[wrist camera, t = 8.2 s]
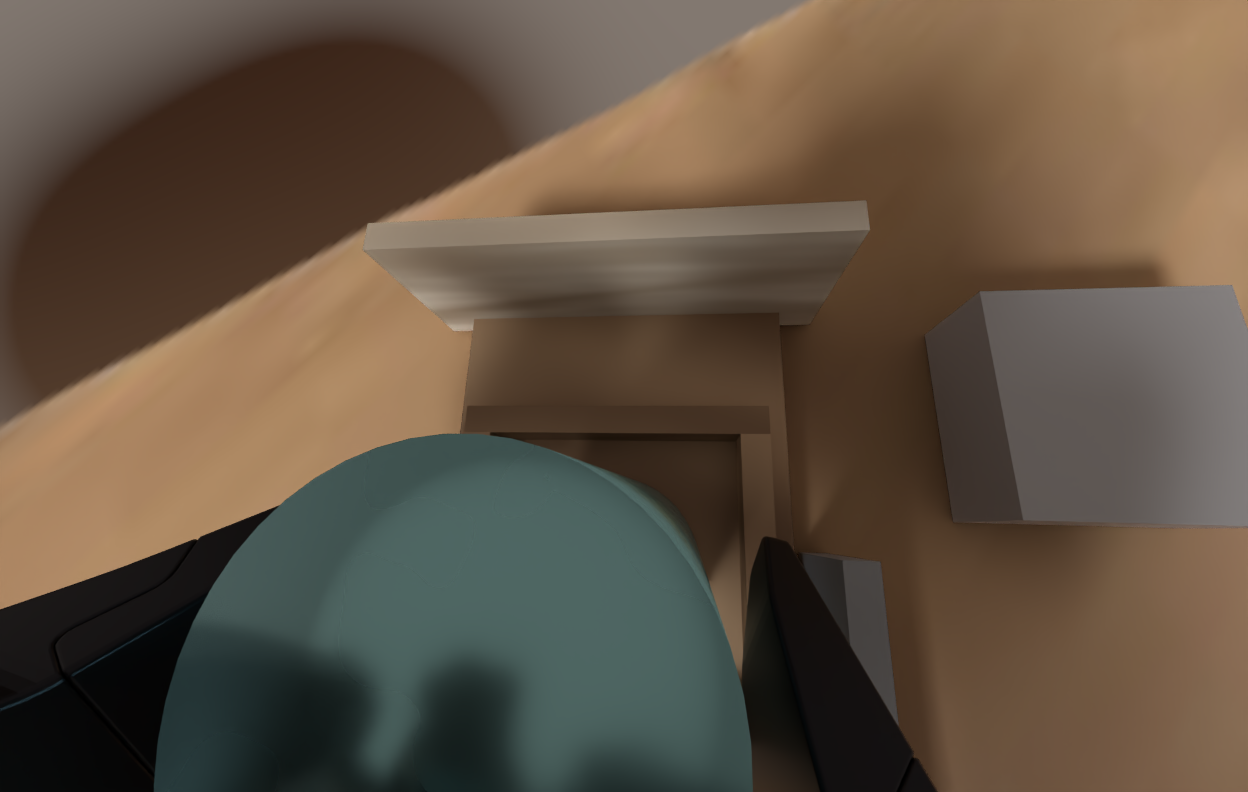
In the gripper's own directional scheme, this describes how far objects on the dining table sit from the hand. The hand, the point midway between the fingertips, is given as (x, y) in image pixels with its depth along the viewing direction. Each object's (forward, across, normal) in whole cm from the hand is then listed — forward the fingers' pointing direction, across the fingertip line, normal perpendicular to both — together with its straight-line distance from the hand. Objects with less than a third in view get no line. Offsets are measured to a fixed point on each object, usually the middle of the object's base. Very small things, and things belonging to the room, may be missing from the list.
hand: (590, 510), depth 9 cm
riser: (+9, -12, +1) cm, 15 cm away
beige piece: (+5, 0, +4) cm, 7 cm away
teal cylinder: (+3, 0, +5) cm, 6 cm away
